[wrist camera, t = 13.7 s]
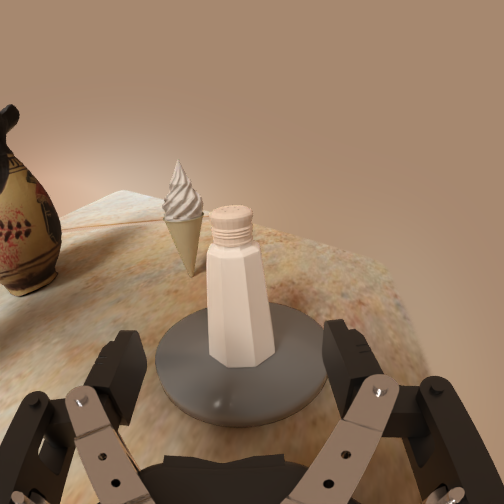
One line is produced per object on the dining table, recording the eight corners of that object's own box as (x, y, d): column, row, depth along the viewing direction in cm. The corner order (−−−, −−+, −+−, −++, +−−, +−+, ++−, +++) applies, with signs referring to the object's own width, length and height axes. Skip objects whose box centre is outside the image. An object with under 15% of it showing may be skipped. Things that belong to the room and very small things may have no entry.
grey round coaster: (134, 352, 25) (130, 339, 25) (253, 299, 33) (252, 287, 33) (225, 462, 15) (222, 450, 15) (362, 356, 23) (365, 343, 23)
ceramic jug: (13, 270, 44) (-14, 112, 33) (81, 258, 48) (57, 87, 37) (-27, 317, 29) (-70, 110, 18) (52, 307, 32) (13, 68, 21)
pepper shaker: (201, 336, 25) (181, 207, 21) (260, 321, 27) (253, 196, 23) (220, 378, 20) (198, 227, 16) (289, 356, 22) (288, 212, 18)
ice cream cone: (186, 289, 36) (169, 161, 31) (165, 277, 40) (148, 162, 34) (218, 275, 39) (207, 155, 34) (195, 264, 43) (183, 156, 37)
